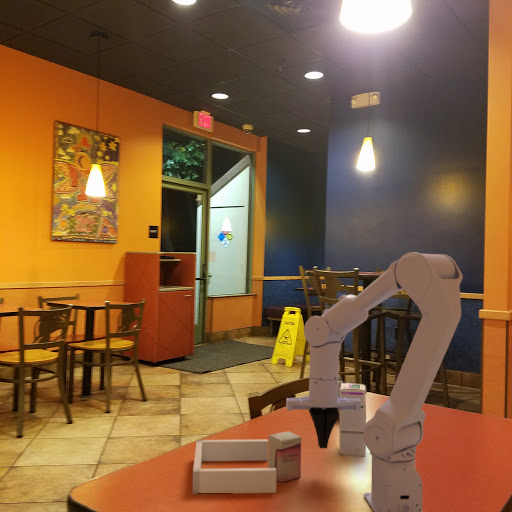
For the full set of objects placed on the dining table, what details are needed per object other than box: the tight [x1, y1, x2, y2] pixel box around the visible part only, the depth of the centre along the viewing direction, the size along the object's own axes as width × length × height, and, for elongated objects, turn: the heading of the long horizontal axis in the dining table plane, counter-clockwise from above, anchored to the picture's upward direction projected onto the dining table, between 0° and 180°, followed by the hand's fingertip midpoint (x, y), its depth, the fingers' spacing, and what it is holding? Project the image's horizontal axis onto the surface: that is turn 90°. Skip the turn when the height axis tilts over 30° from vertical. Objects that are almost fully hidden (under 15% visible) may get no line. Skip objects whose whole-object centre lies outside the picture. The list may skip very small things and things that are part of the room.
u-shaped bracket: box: [192, 438, 277, 495], centre depth 98 cm, size 16×15×4 cm
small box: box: [267, 431, 302, 483], centre depth 98 cm, size 5×4×8 cm
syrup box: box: [338, 382, 367, 457], centre depth 113 cm, size 6×6×14 cm
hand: (322, 446), depth 99 cm, fingers closed
